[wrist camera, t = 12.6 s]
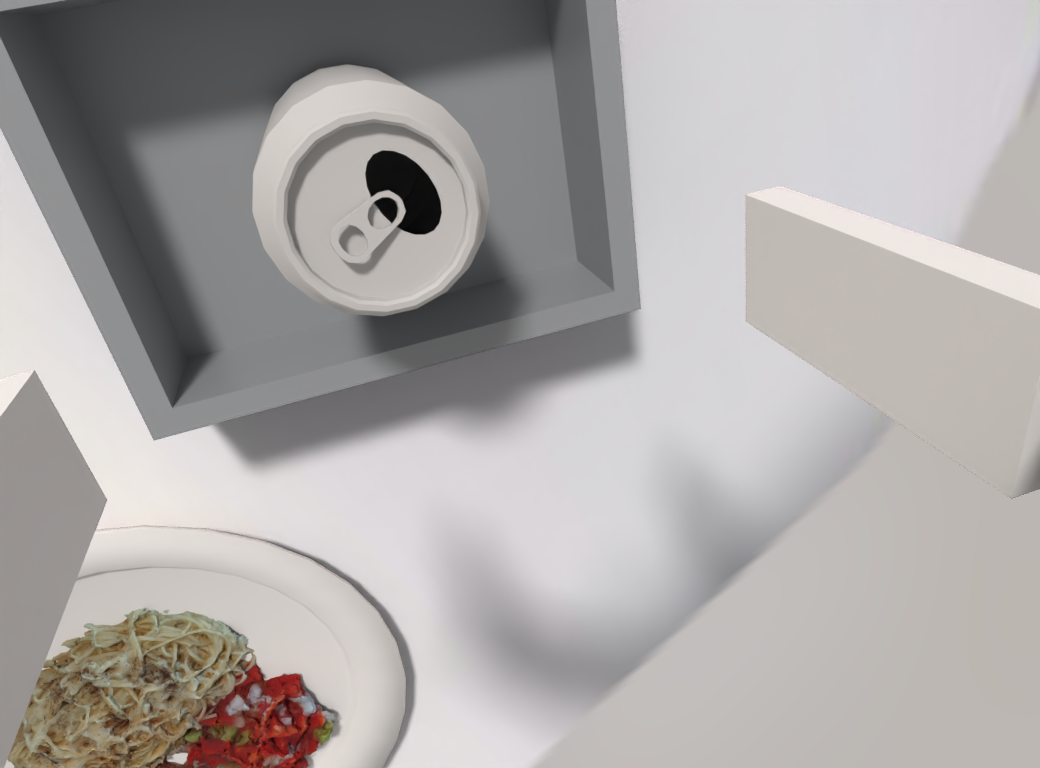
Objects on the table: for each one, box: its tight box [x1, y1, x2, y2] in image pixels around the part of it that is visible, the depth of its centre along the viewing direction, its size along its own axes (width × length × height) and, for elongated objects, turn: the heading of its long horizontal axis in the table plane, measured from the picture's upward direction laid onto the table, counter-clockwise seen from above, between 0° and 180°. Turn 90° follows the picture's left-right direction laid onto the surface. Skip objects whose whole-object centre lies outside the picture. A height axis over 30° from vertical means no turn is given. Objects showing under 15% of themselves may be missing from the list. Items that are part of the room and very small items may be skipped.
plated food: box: [4, 525, 406, 768], centre depth 42 cm, size 30×30×3 cm
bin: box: [0, 0, 641, 440], centre depth 30 cm, size 22×17×6 cm
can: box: [252, 64, 490, 316], centre depth 27 cm, size 8×8×12 cm
